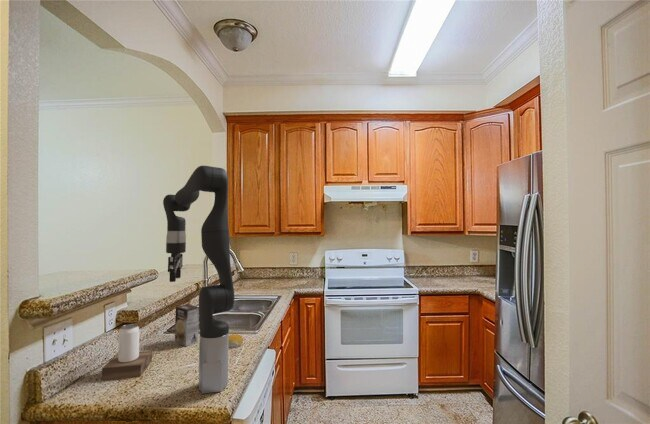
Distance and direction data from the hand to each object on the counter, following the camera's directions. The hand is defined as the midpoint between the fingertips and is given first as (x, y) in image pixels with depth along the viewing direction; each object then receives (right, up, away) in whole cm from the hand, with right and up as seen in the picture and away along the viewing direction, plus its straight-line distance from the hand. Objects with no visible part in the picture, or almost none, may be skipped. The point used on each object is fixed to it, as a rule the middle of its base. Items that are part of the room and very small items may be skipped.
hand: (175, 279), depth 131 cm
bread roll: (+23, -31, +8) cm, 39 cm away
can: (-9, -26, -17) cm, 32 cm away
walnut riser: (-9, -29, -17) cm, 35 cm away
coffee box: (+1, -31, +9) cm, 32 cm away
